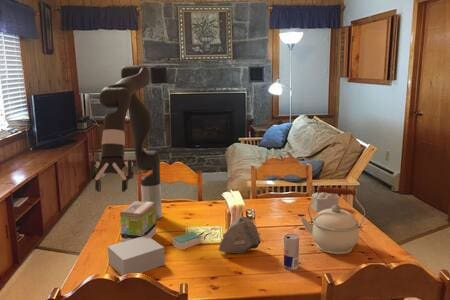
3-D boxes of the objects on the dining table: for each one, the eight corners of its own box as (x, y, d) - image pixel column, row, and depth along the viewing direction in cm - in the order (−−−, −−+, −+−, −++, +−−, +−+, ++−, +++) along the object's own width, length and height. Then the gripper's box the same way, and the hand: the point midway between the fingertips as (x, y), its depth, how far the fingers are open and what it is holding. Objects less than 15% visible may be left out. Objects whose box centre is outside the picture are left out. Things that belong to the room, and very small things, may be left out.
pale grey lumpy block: (309, 206, 211) (309, 190, 209) (332, 204, 213) (333, 188, 212) (318, 213, 201) (318, 196, 199) (342, 211, 203) (343, 194, 202)
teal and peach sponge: (172, 245, 169) (172, 237, 168) (192, 239, 175) (192, 231, 174) (180, 250, 164) (179, 242, 163) (200, 243, 170) (200, 236, 169)
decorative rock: (259, 248, 164) (259, 213, 161) (260, 256, 157) (261, 219, 154) (219, 248, 164) (218, 213, 161) (218, 256, 158) (218, 220, 154)
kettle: (363, 240, 169) (366, 183, 164) (362, 260, 152) (366, 197, 147) (302, 233, 177) (304, 178, 172) (295, 251, 160) (297, 191, 155)
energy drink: (282, 264, 151) (282, 233, 148) (296, 263, 151) (297, 233, 149) (285, 271, 146) (286, 240, 143) (300, 270, 146) (301, 239, 144)
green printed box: (144, 247, 166) (141, 213, 163) (121, 245, 168) (118, 211, 165) (157, 232, 181) (155, 201, 178) (136, 231, 183) (134, 199, 180)
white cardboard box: (109, 263, 153) (107, 246, 152) (147, 251, 163) (146, 235, 161) (124, 278, 142) (123, 260, 141) (164, 264, 152) (163, 247, 150)
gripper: (136, 146, 143) (135, 192, 140) (96, 146, 143) (94, 192, 141) (130, 142, 135) (128, 191, 133) (88, 142, 136) (86, 191, 133)
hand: (111, 191), depth 137 cm, fingers open, 8 cm apart
